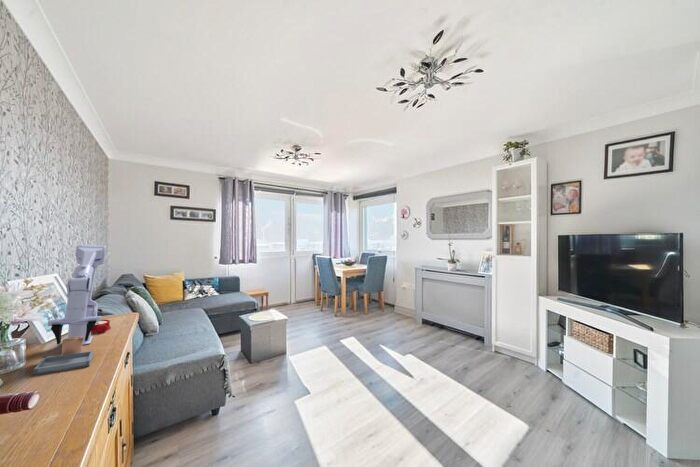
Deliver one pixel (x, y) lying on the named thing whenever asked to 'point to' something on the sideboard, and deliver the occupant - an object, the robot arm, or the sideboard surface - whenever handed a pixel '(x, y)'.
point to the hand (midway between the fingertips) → (72, 341)
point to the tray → (63, 362)
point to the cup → (72, 345)
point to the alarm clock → (101, 326)
